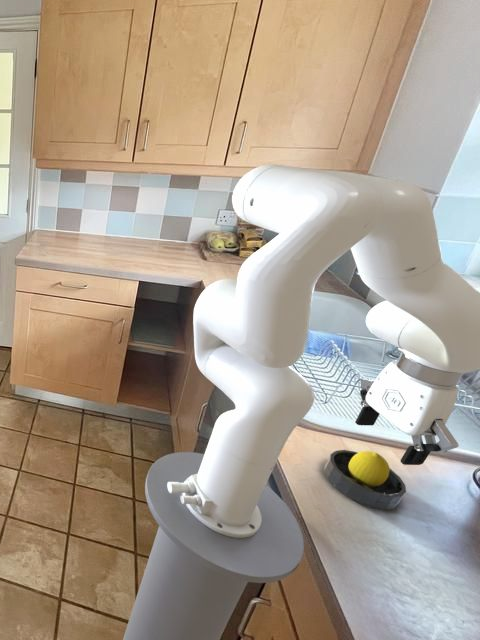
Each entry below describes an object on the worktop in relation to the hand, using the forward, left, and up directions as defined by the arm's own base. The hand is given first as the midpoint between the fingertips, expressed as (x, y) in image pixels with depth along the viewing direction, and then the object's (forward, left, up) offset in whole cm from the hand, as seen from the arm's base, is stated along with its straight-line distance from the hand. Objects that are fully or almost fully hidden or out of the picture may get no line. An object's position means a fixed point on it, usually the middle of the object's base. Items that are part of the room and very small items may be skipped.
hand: (385, 442), depth 78 cm
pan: (-1, 0, -11) cm, 11 cm away
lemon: (-1, 0, -11) cm, 11 cm away
